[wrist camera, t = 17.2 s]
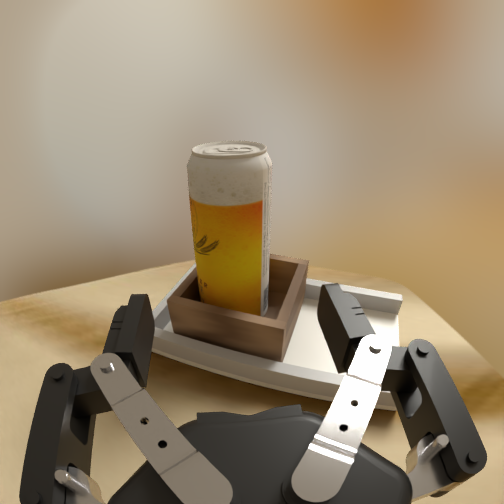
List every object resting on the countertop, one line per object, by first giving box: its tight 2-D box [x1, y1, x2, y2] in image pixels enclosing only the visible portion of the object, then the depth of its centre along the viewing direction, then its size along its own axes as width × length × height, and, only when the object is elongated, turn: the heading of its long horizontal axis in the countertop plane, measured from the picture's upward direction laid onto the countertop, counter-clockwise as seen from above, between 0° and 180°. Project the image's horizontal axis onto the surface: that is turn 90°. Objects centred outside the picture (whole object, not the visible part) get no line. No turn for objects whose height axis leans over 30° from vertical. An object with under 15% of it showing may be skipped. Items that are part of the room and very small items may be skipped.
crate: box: [167, 254, 309, 363], centre depth 28 cm, size 10×10×5 cm
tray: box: [152, 263, 403, 411], centre depth 28 cm, size 22×13×3 cm, turn 71°
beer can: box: [187, 141, 272, 317], centre depth 25 cm, size 6×6×15 cm
